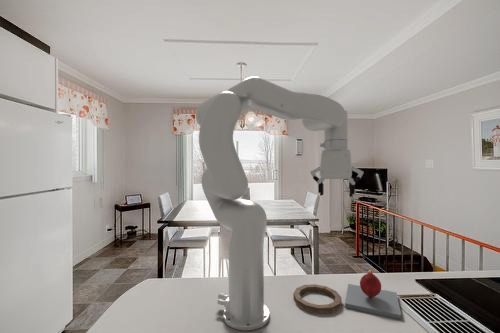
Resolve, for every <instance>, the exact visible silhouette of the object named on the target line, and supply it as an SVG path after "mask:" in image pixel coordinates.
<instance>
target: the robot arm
mask: <svg viewBox="0 0 500 333" xmlns="http://www.w3.org/2000/svg"><path fill="white" fill-rule="evenodd" d="M252 110H253V111H258V112H261V113H264V114H266V115H270V116H272V117H275V118H277V119H280V120H288V121H289V120H293V121H294V120H301V122H302V125H303V127H304V128H305V129H306V130H308V131H312V132H319V131H324V140H323V142H321V143H319V147H320V148H323V149H321V150H322V151H321V153H320V154H321V155H320V166H319V167H316V168H315V169H313V170H310V175H311V176H312V178H313V180H314V181H315V182H316V183H317V188H318V192H317V193H319V196H321V197H322V196H323V195H324V181H325V180H348V182H349V183H350V184H349V197H350V198H351V197H353V195H355V192H356V191H355V187H356V184H357V183H358V182H359V181H360V180H361V178H362V177H363V175H364V171H363V170H361V169H359V168H357V167H354V166H353V165H352V163H353V162H352V155H351V149H349V148H348V145H349V144H348V143H349V142H348V139H349V138H348V132H349V130H348V127H349V125H348V124H349V123H348V118H349V117H348V112H347V110H345V108H344V107H343V106H342V104H340V103H339V102H338V101H336V100H334V99H331V97H328V96H324V95H320V94H313V93H306V92H302V91H300V92H299V91H297V92H296V91H292V90H289V89H287V88H285V87H283V86H280V85H278V84H276V83H273V82H271V81H269V80H266V79H264V78H262V77H259V76H249V77H247V78H245V79H242V80H241V81H240V82H238V83H236V84H234V85H233V86H231V87H229V88H228V89H226V90H224V91H221V92H219V93H217V94H215V95H213V96H211V97H209V99H207V100H205V101H203V102H201V103H200V105H198V107H197V109H196V112H195V119H196V121H197V124H198V125H199V132H198V144H199V149H200V153H201V156H202V158H203V161H204V164H205V167H206V168H205V169H204V171H203V173H202V175H201V176H202V177H201V188H202V191H203V193H204V196H205V197H206V201H207V202H208V205H209V207H210V209H211V211H212V213H213V216H214V218H215V220H216V221H217V222H218V224H219V225H220V226H222V227H223V228H225V229H226V230H228V231H231V236H230V241H229V245H228V251H227V252H228V256H227V258H228V294H227V293H223V292H219V293H218V296H217V298H218V299H217V305H219V306H224V307H225V308H224V310H223V313H222V315H223V317H222V318H223V321H224V323H225V324H226V325H227V326H229V327H230V328H231V329H235V330H239V331H253V330H257V329H260V328H262V327H264V326H265V325H267V323H268V322H269V320H270V319H271V317H270V316H271V314H270V309H269V308H268V306H267V305H266V304H265V302H264V301H265V299H264V298H265V295H264V294H265V288H264V287H265V285H264V284H265V282H264V279H265V278H264V276H265V275H264V270H265V268H264V263H265V262H264V246H265V244H264V242H265V236H266V230H267V223H268V218H267V213H266V211H265V209H264V207H262V205H260V204H259V203H258V202H256V201H254V200H250V199H246V198H243V197H244V196H245V195H246V193H247V192H248V191H249V189H248V188H249V180H248V178H247V174H246V173H245V169H244V167H243V165H242V162H241V159H240V157H239V156H238V155H239V154H238V153H237V149H236V147H235V143H234V132H235V128H236V125H237V123H238V121H239V120H240V117H241V116H242V115H243V114H244V113H246V112H250V111H252ZM318 172H319V176H320V178H319V177H318V176H317V173H318ZM353 172H355V173H357V176H356V177H355V178H353V177H352V175H353Z"/></svg>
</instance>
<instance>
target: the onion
mask: <svg viewBox="0 0 500 333" xmlns="http://www.w3.org/2000/svg"><path fill="white" fill-rule="evenodd" d="M359 286H360V287H361V289H362V291H363V292H364V293H365V294H366V295H367V296H368V297H370V298H372V297H375V296H376V295H378V294H379V293H380V291H381V290H382V283H381V280H380V279H379V278H378V276H376V275H375V274H374V273H373V271H372V270H368V272H367V273H365V274H364V275H362V277H361V278H360V280H359Z"/></svg>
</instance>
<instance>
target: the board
mask: <svg viewBox="0 0 500 333" xmlns="http://www.w3.org/2000/svg"><path fill="white" fill-rule="evenodd" d="M344 307H345V309H350V310H357V311H360V312H364V313H370V314H375V315H378V316H383V317H387V318H393V319H396V320H397V319H398V320H402V311H401V308H400V303H399V298H398V294H397V292H395V291H392V290H391V291H390V290H385V289H381V291H380V293H379V294H378V295H376V296H375V297H372V298H370V297H368V296H367V295H366V294H365V293H364V292H363V291H362V289H361V287H360V285H357V284H351V283H348V284H347V289H346V295H345V302H344Z"/></svg>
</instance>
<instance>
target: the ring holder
mask: <svg viewBox="0 0 500 333" xmlns="http://www.w3.org/2000/svg"><path fill="white" fill-rule="evenodd" d="M314 292H315V293H321V294H325V295H327V296H329V297H331V298H332V299H333V301H332V302H330V303H328V304H316V303H311V302H308V301H307V300H305V299H303V298H302V297H301V296H302V295H304V294H305V293H314ZM292 294H293V295H292V297H293V300H294V302H295V305H296V306H298V307H299V308H301V309H302V310H304V311H305V312H310V313H314V314H318V315H324V314H326V315H327V314H333V313H335V312H337V311H339V310H341V306H342V296H341V294H340V293H339V292H337V290H334V289H333V288H331V287H328V286H327V285H321V284H315V283H313V284H303V285H301V286H298V287H296V288H295V290H294V291H293V293H292Z"/></svg>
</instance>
